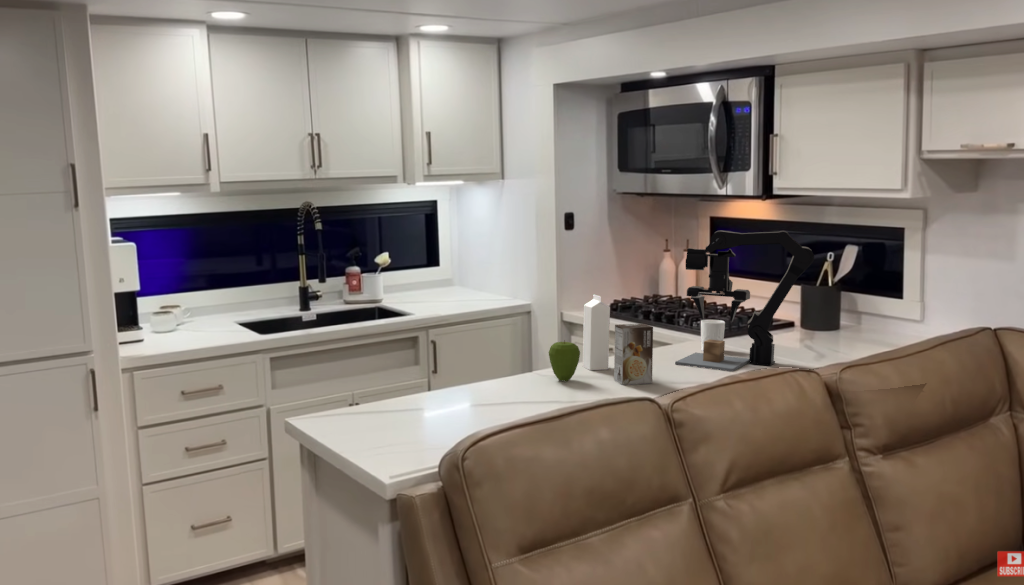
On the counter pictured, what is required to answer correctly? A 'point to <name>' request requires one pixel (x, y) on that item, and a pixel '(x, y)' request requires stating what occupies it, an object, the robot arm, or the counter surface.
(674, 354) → the counter surface
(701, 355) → the slate mat
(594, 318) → the milk
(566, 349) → the apple
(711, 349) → the walnut block
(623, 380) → the printed cardboard box
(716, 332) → the white cup
